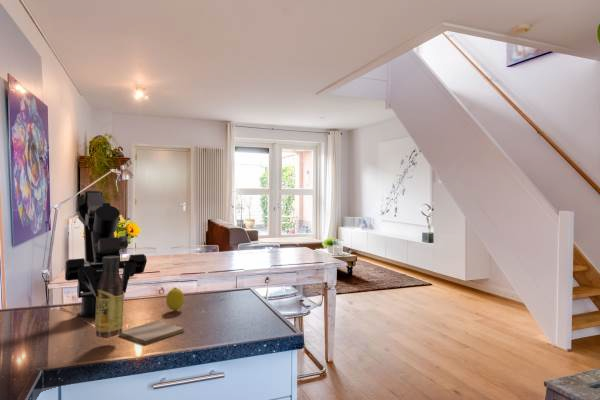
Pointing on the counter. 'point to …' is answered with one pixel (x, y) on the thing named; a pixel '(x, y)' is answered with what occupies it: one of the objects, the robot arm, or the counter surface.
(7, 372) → the counter surface
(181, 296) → the lemon
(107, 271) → the sauce bottle
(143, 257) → the robot arm
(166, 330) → the walnut board
